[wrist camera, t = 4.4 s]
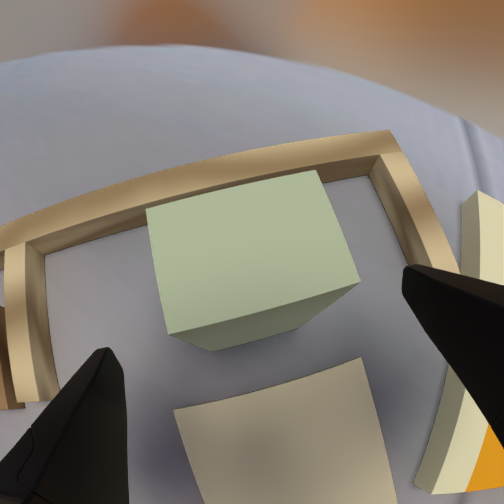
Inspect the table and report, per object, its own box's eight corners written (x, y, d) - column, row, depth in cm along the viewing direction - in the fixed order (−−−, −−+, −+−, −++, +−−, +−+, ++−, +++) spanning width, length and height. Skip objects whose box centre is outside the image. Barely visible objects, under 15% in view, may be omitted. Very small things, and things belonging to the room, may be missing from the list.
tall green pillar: (297, 328, 18) (360, 281, 8) (212, 351, 17) (168, 334, 7) (279, 272, 19) (315, 169, 9) (197, 293, 18) (145, 209, 8)
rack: (444, 295, 18) (465, 286, 16) (-40, 402, 14) (-60, 402, 12) (378, 150, 22) (389, 129, 20) (-47, 266, 18) (-65, 257, 16)
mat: (395, 503, 13) (397, 505, 13) (229, 555, 12) (228, 558, 12) (358, 357, 17) (361, 357, 17) (174, 409, 16) (173, 410, 15)
